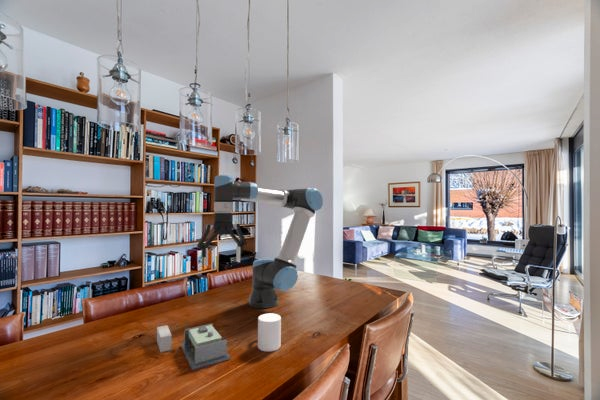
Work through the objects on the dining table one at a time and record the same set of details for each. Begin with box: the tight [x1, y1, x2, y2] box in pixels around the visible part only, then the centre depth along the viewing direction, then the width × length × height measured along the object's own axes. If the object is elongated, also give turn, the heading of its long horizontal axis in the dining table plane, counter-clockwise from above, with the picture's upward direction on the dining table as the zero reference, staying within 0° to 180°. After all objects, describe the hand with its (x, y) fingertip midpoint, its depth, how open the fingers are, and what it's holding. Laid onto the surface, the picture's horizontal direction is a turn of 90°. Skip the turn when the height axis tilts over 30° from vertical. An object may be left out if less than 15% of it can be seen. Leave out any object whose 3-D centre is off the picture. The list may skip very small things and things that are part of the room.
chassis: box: [180, 322, 231, 371], centre depth 97 cm, size 18×12×6 cm, turn 33°
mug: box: [257, 312, 282, 352], centre depth 104 cm, size 8×10×12 cm
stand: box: [156, 324, 173, 353], centre depth 102 cm, size 10×4×5 cm, turn 33°
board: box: [189, 325, 223, 347], centre depth 97 cm, size 12×8×3 cm, turn 33°
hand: (222, 263), depth 117 cm, fingers open, 13 cm apart
